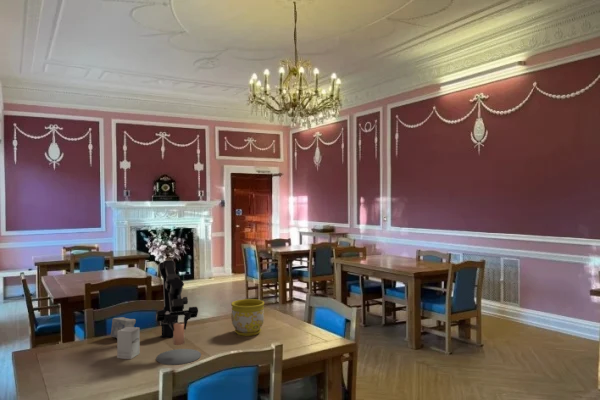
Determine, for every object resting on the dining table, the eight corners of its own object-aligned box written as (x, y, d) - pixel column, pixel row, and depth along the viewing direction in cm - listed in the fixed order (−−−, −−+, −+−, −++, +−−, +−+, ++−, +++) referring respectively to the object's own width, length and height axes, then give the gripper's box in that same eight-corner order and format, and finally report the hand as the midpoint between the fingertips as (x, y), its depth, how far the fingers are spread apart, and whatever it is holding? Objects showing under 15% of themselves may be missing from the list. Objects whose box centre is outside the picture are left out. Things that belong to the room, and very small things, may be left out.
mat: (148, 363, 204) (148, 362, 204) (168, 348, 224) (168, 347, 224) (190, 366, 200) (190, 365, 200) (207, 351, 220) (207, 350, 220)
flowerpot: (271, 331, 252) (271, 301, 252) (250, 339, 237) (250, 308, 237) (245, 326, 262) (245, 297, 262) (224, 334, 247) (224, 303, 247)
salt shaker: (171, 343, 212) (171, 324, 212) (180, 340, 216) (180, 321, 215) (177, 345, 209) (177, 326, 208) (186, 343, 212) (186, 323, 212)
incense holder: (136, 336, 243) (136, 317, 243) (124, 341, 235) (123, 321, 235) (122, 334, 247) (122, 315, 247) (110, 338, 240) (110, 318, 240)
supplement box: (131, 359, 209) (131, 331, 209) (116, 358, 210) (116, 330, 210) (140, 354, 216) (140, 327, 216) (125, 352, 218) (125, 326, 218)
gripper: (156, 293, 212) (159, 322, 202) (197, 289, 219) (202, 318, 209) (154, 306, 219) (157, 335, 209) (194, 302, 226) (198, 330, 217)
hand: (179, 329), depth 211 cm, fingers closed on salt shaker, 5 cm apart
